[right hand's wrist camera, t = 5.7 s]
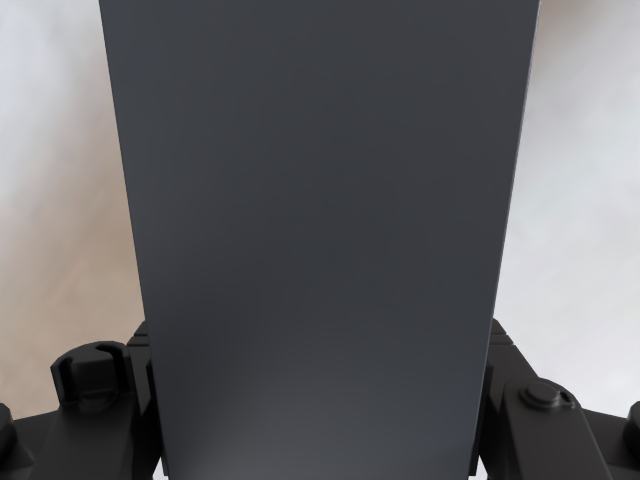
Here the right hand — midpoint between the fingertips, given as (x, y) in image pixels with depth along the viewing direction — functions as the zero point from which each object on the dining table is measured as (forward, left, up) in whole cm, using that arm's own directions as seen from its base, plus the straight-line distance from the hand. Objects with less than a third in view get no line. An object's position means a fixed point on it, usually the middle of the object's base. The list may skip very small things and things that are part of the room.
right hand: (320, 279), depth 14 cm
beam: (-11, +20, -1) cm, 22 cm away
